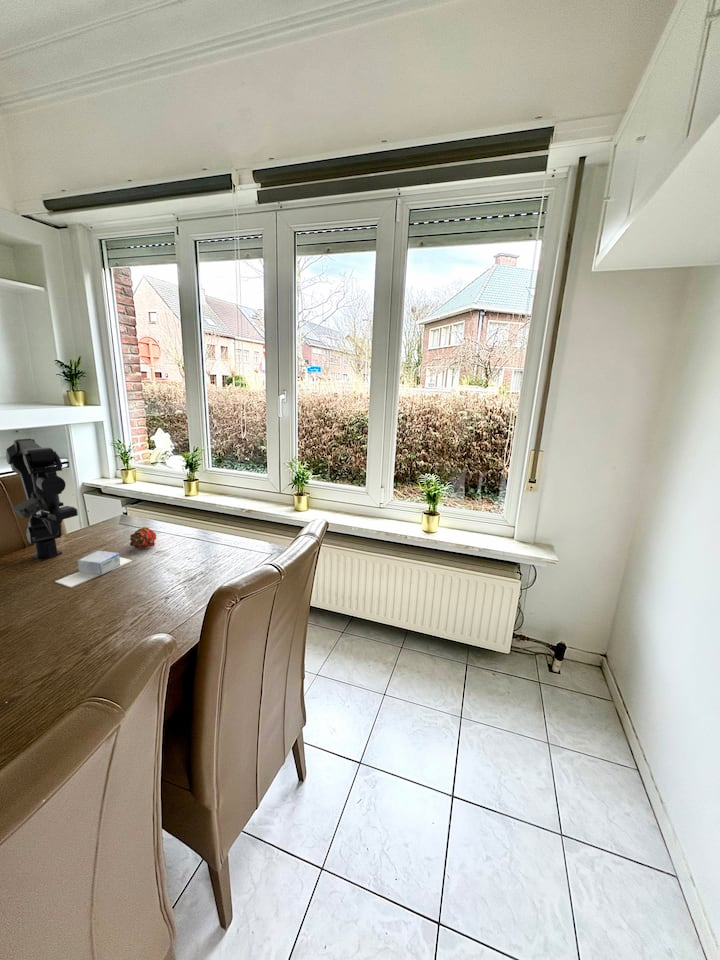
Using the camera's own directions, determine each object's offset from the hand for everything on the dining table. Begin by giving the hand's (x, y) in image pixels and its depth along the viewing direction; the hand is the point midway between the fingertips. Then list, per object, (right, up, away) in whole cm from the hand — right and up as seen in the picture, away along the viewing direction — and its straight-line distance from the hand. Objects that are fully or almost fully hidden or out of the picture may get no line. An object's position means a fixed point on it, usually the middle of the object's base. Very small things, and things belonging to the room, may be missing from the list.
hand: (53, 534), depth 123 cm
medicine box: (+9, -9, +3) cm, 13 cm away
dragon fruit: (+17, -8, +21) cm, 28 cm away
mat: (+12, -12, +2) cm, 18 cm away
